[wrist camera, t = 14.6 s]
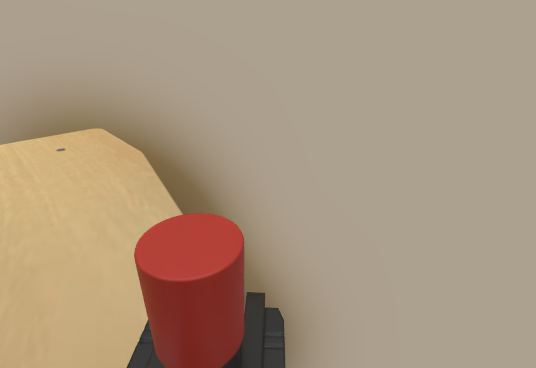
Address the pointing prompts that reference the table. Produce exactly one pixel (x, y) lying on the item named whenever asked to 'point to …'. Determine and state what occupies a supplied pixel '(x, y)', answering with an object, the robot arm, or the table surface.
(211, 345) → the marker
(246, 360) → the robot arm
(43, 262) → the table surface
